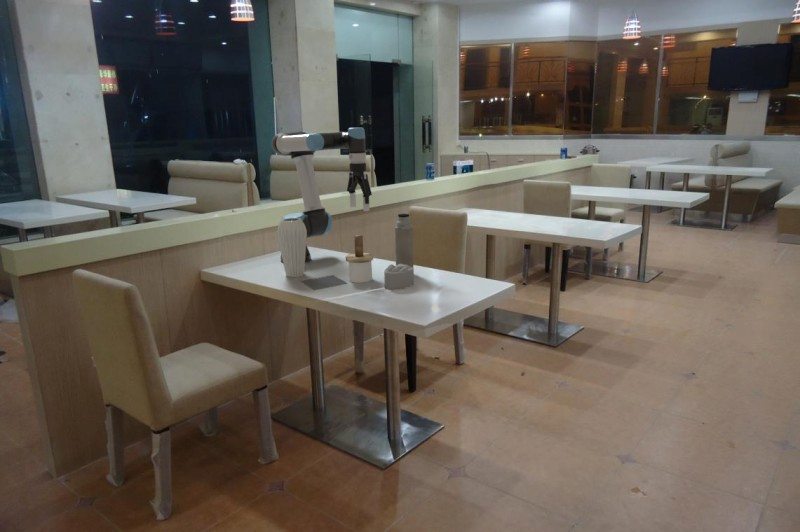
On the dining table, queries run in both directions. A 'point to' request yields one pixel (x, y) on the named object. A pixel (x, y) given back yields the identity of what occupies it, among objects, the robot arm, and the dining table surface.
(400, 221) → the thermos bottle
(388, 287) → the lumpy-topped squat cylinder
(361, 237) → the lid
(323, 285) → the mat
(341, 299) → the dining table surface
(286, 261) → the vase
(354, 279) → the cup
